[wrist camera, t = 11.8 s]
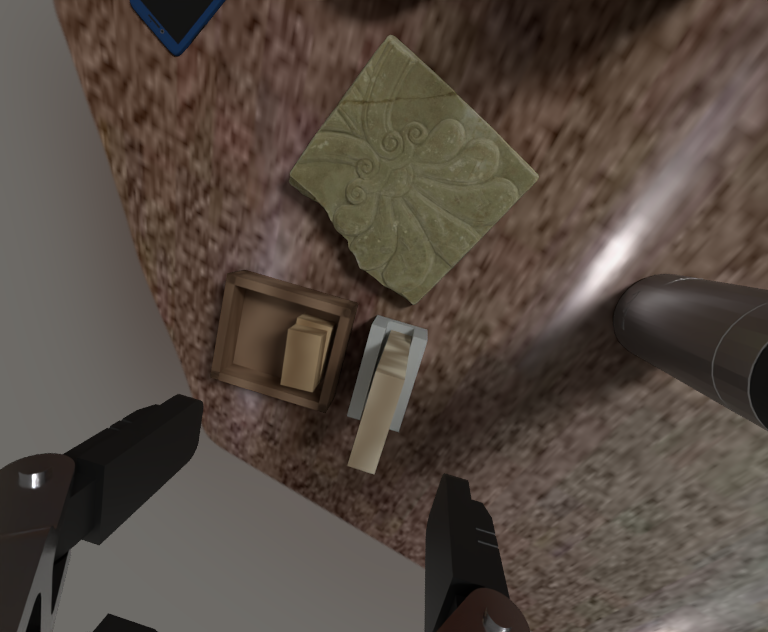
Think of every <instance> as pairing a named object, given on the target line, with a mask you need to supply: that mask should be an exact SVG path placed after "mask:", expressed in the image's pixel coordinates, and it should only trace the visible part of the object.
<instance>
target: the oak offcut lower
mask: <svg viewBox="0 0 768 632" xmlns="http://www.w3.org/2000/svg"><path fill="white" fill-rule="evenodd" d="M296 324H299V325H304V326H308V327H313V328H317V329H321V330H326V331H327V336H326V342H325V348H324V354H323V360H322V366H321V372H320V378H319V383H320V382H321V380H322V379H323V377H324V374H325V370H326V366H327V362H328V358H329V354H330V350H331V346H332V342H333V338H334V334H335V329H336V325H337V323H336V322H332V321H329V320H325V319H322V318H319V317H315V316H312V315H309V314H305V313H304V314H302V315H301V316H299V317H298V318H297V322H296Z"/></svg>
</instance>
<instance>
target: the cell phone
mask: <svg viewBox="0 0 768 632" xmlns="http://www.w3.org/2000/svg"><path fill="white" fill-rule="evenodd" d="M224 2H225V0H130V3H131V6H132V7H133V9H134V10H135V11H136V13H137V14H138V15H139V16H140V17H141V18H142V20H143V21H144V22H145V23H146V24H147V25H148V27H149V28H150V29H151V30H152V31H153V32H154V34H155V35H156V36H157V37H158V38H159V39H160V41H161V42H162V43H163V44H164V45H165V46H166V48H167V49H168V50H169V51H170V52H171V53H172V54H173V55H175V56H180V55H181V54H182V53H183V52H184V51H185V50H186V49H187V48H188V47H189V45H190V44H191V43H192V42H193V40H194V39H195V38H196V37H197V35H198V34H199V33H200V32H201V30H202V29H203V28H204V27H205V25H206V24H207V23H208V22H209V20H210V19H211V18H212V17H213V15H214V14H215V13H216V12H217V10H218V9H219V8H220V7H221V5H222V4H223V3H224Z"/></svg>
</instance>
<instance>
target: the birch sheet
mask: <svg viewBox="0 0 768 632" xmlns="http://www.w3.org/2000/svg"><path fill="white" fill-rule="evenodd" d="M410 343H411V336H410V335H406V334H403V333H400V332H397V331H393V330H391V332H390V335H389V337H388V340H387V343H386V346H385V348H384V351H383V354H382V356H381V359H380V362H379V364H378V367H377V370H376V373H375V376H374V379H373V383H372V386H371V389H370V392H369V396H368V399H367V402H366V406H365V409H364V412H363V416H362V419H361V422H360V426H359V429H358V432H357V436H356V439H355V442H354V446H353V449H352V452H351V456H350V459H349V462H348V466H350V467H353V468H356V469H359V470H362V471H365V472H368V473H371V474H375V471H376V468H377V465H378V462H379V458H380V455H381V452H382V449H383V446H384V443H385V440H386V437H387V434H388V431H389V428H390V425H391V422H392V418H393V415H394V412H395V409H396V406H397V403H398V400H399V397H400V394H401V391H402V388H403V385H404V381H405V376H406V369H407V363H408V356H409V350H410Z"/></svg>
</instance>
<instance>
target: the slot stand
mask: <svg viewBox="0 0 768 632" xmlns="http://www.w3.org/2000/svg"><path fill="white" fill-rule="evenodd" d="M391 330H393V331H397V332H400V333H403V334H406V335H410V336H411V343H410V350H409V356H408V363H407V369H406V376H405V381H404V385H403V388H402V391H401V394H400V397H399V400H398V403H397V406H396V409H395V412H394V415H393V418H392V422H391V425H390V428H389V429H390V430H393V431H397V432H399V429H400V426H401V423H402V420H403V416H404V413H405V410H406V407H407V404H408V401H409V397H410V394H411V391H412V388H413V385H414V382H415V378H416V375H417V372H418V369H419V366H420V363H421V359H422V356H423V353H424V350H425V347H426V344H427V329H423V328H420V327H416V326H413V325H410V324H406V323H403V322H399V321H396V320H393V319H389V318H386V317H382V316H379V315H377V317H376V318H375V320H374V322H373V323H372V326H371V329H370V333H369V337H368V340H367V344H366V348H365V351H364V355H363V359H362V362H361V366H360V370H359V373H358V377H357V381H356V384H355V388H354V392H353V395H352V399H351V403H350V406H349V410H348V414H347V416H348V417H351V418H355V419H358V420H360V418H361V415H362V412H363V410H364V407H365V406H366V402H367V399H368V396H369V392H370V389H371V386H372V383H373V379H374V376H375V373H376V370H377V367H378V364H379V362H380V359H381V356H382V354H383V351H384V348H385V346H386V343H387V340H388V337H389V335H390V332H391Z"/></svg>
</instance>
